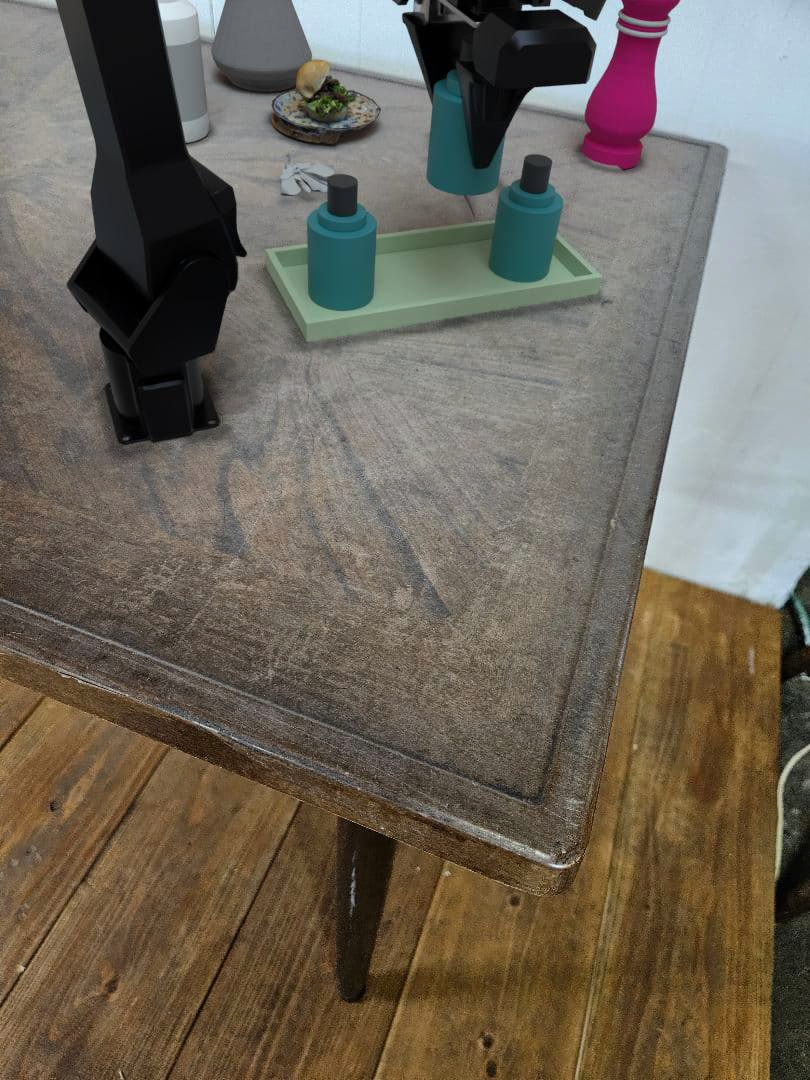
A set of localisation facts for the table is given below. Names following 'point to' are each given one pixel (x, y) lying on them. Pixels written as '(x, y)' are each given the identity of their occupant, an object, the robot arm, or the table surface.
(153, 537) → the table surface
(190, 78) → the spray bottle
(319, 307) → the tray
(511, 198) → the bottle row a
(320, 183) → the flower
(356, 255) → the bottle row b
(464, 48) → the bottle loose
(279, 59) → the coffee pot
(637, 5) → the pepper mill
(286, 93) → the plate of food
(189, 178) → the robot arm
